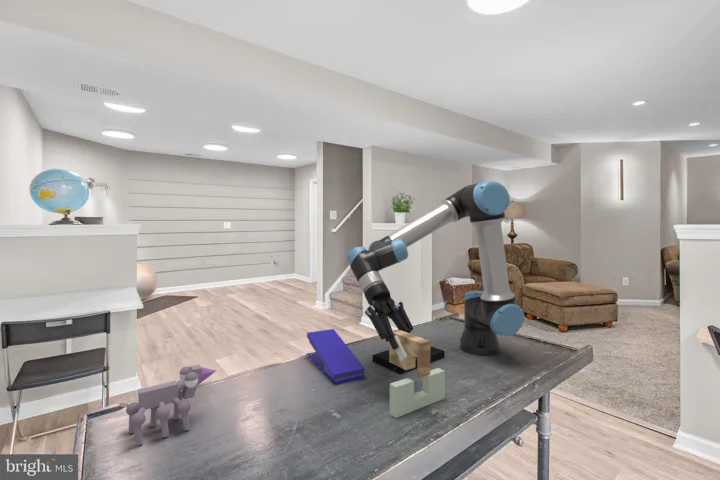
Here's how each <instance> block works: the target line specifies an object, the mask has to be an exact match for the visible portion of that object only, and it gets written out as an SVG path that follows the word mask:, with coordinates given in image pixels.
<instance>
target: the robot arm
mask: <svg viewBox="0 0 720 480" xmlns="http://www.w3.org/2000/svg"><path fill="white" fill-rule="evenodd" d="M510 200H511V199H510V194H509V191H508V190H507V188H506V187H505V186H504V184H503V185H502V183H501V182H499V181H495V180H486V181H485V180H484V181H480V182H477V183H473V184H469V185H466V186H464V187H462V188H461V189H460V188H459V190H457V191H456V192H454V193H453V194H451V195H449V196H448V197H446V198H445V199H443V200H442V202H441V204H440V205H438V206H436V207H434V208H433V209H431V210H430V211H427V212H425V213H424V214H422V215H421V216H419V217H417V218H416V219H413V220H412V221H410V222H408V223H407V224H405V225H403V226H401V227H400V228H398V229H396V230H395V231H392V232H391V233H390V234H388V235H386V236H384V237H383V238H381V239H378V240H375V241H373V242H372V241H371V243H370V244H369V246H368V247H367V248H368V249H367V248H366V247H365V246H356V247H354V248H352V249H351V250H350V251H348V254H347V257H346V260H347V262H348V265H349V268H350V270H351V271H352V273H353V275H354V276H355V280H356V281H357V283H358V285H359V287H360V289H361V291H362V293H363V294H364V297H365V299H366V302H367V303H368V305H369V306H367V308H366V310H365V311H364V314H365V315H366V316H367V317H368V318H369V320H370V321H371V323H372V325H373V327H374V329H375V330H376V333H377V335H378V336H379V338H380V340H382V341H383V340H385V342H387V343H390V345H391V346H392V349H393V350H395V351H396V353H397V355H398V357H399V359H400V361H403V360H404V359H405V358H406V357H407V354H406V352H405V350H404V348H403V346H402V345H401V343H400V341H399V339H398V337H397V335H396V336H394V334H393V328H392V326H391V322H390V320H391V321H392V322H393V324H394V326H395V327H396V328H397V330H398V329H399V330H402V331H404V332H407V333H410V334H411V332H413V330H414V326H413V325H412V322H411V320H410V318H409V316H408V314H407V313H406V309H405V308H404V303H403V302H402V301H399V302H395V300H394V299H393V298H392V297H391V291H390V290H389V288H388V287H387V286H388V285H386V284H385V281H384V279H383V277H382V275H381V273H380V271H382V270H384V269H387V268H389V267H391V266H393V265H396V264H399V263H401V262H403V261H405V260H407V259H408V258H409V251H408V250H409V249H408V247H410V246H412V245H413V244H415V243H417V242H419V241H420V240H422V239H424V238H425V237H427V236H430V234H432V233H434V232H436V231H437V230H439V229H441V228H443V227H444V226H446V225H448V224H449V223H451V222H453V223H457V222H458V221H460V220H461V219H465V218H468V217H469V222H470V224H471V225H473V226H474V228H475V234H476V242H477V246H478V249H477V250H478V254H479V255H478V256H479V263H480V271H481V279H482V286H483V290H471V291H467V292H465V294H464V298H463V299H464V300H463V302H464V303H463V304H464V306H463V307H464V314H463V316H464V317H463V318H464V328H463V332H462V334H461V337H460V340H459V349H460V350H462V351H463V352H466V353H469V354H472V355H477V356H479V355H480V356H494V355H497V354H499V353H500V352H501V344H500V343H499V342H500V341H499V339H498V335H500V336H503V337H510V336H513V335H516V334H517V333H518V332H519V331H520V329H521V328H522V327H523V325H524V322H525V313H524V310H523V309H522V308H521V306H519V305H518V304H517V301H516V295H515V293H513V292H512V291H511V289H510V282H509V281H510V280H509V276H508V267H507V261H506V260H507V259H506V252H505V245H504V244H505V242H504V235H503V227H502V223H503V221H504V220H505V219H506V214H505V213H506V212H505V211H506V210H507V209H508V207H509V206H510Z"/></svg>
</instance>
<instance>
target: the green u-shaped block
mask: <svg viewBox="0 0 720 480" xmlns="http://www.w3.org/2000/svg"><path fill="white" fill-rule="evenodd" d="M445 394H446V370H444V369H443V368H442V369H441V368H440V367H436V368H433V369H430V375H428V376H425V377H422V390H421V391H418V392H415V381H414V380H412V379H411V378H409V377H406V378H403V379H400V380H397V381H394V382H391V383H389V414H390V415H391V416H392V417H393V418H400V417H402V416H405V415H408V414H410V413H412V412H415V411H417V410H419V409H423V408H424V407H427V406H430V405H432V404H434V403H437V402H439V401H442V400H445V399H446V395H445Z"/></svg>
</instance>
